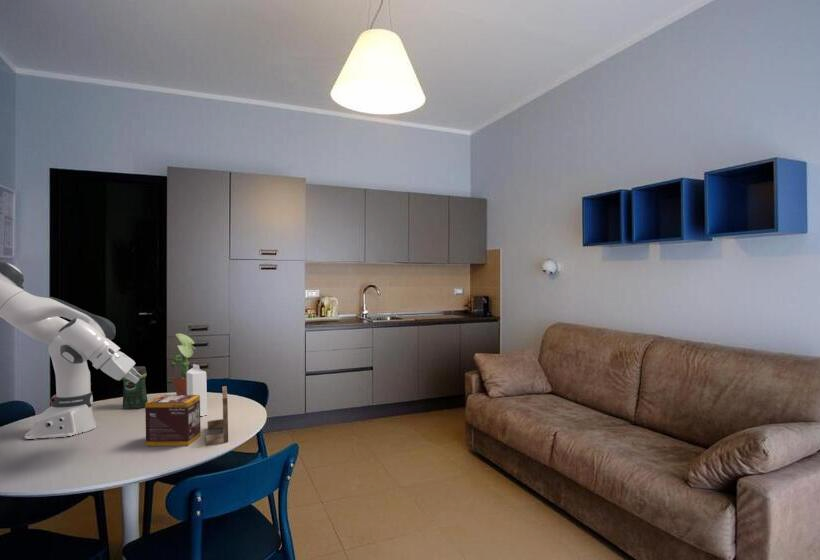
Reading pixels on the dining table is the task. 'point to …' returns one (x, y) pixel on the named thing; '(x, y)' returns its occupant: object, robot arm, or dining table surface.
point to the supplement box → (172, 420)
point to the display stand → (219, 424)
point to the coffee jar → (135, 391)
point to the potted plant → (182, 363)
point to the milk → (198, 386)
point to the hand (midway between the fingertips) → (138, 380)
